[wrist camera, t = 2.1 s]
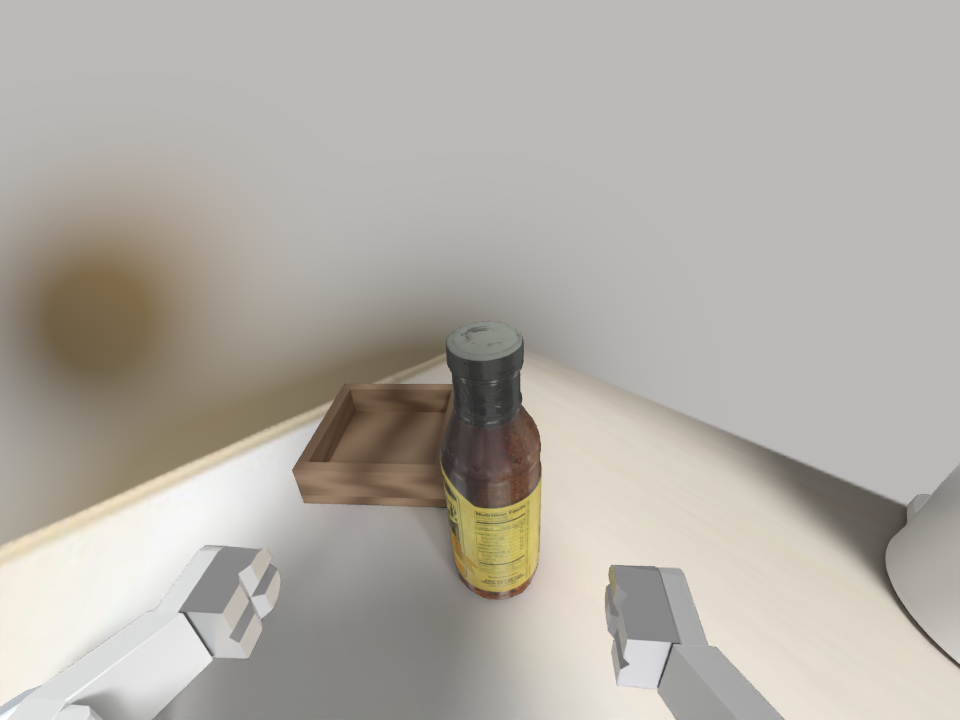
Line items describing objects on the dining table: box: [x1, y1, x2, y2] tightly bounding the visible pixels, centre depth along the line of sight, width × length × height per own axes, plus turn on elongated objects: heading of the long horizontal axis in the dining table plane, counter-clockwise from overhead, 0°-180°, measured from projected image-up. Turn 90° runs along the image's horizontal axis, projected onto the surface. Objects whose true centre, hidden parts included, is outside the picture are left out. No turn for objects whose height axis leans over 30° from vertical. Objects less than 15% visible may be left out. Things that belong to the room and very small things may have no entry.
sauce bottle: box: [440, 321, 542, 599], centre depth 28 cm, size 7×6×20 cm
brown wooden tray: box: [292, 384, 454, 507], centre depth 44 cm, size 13×13×4 cm
